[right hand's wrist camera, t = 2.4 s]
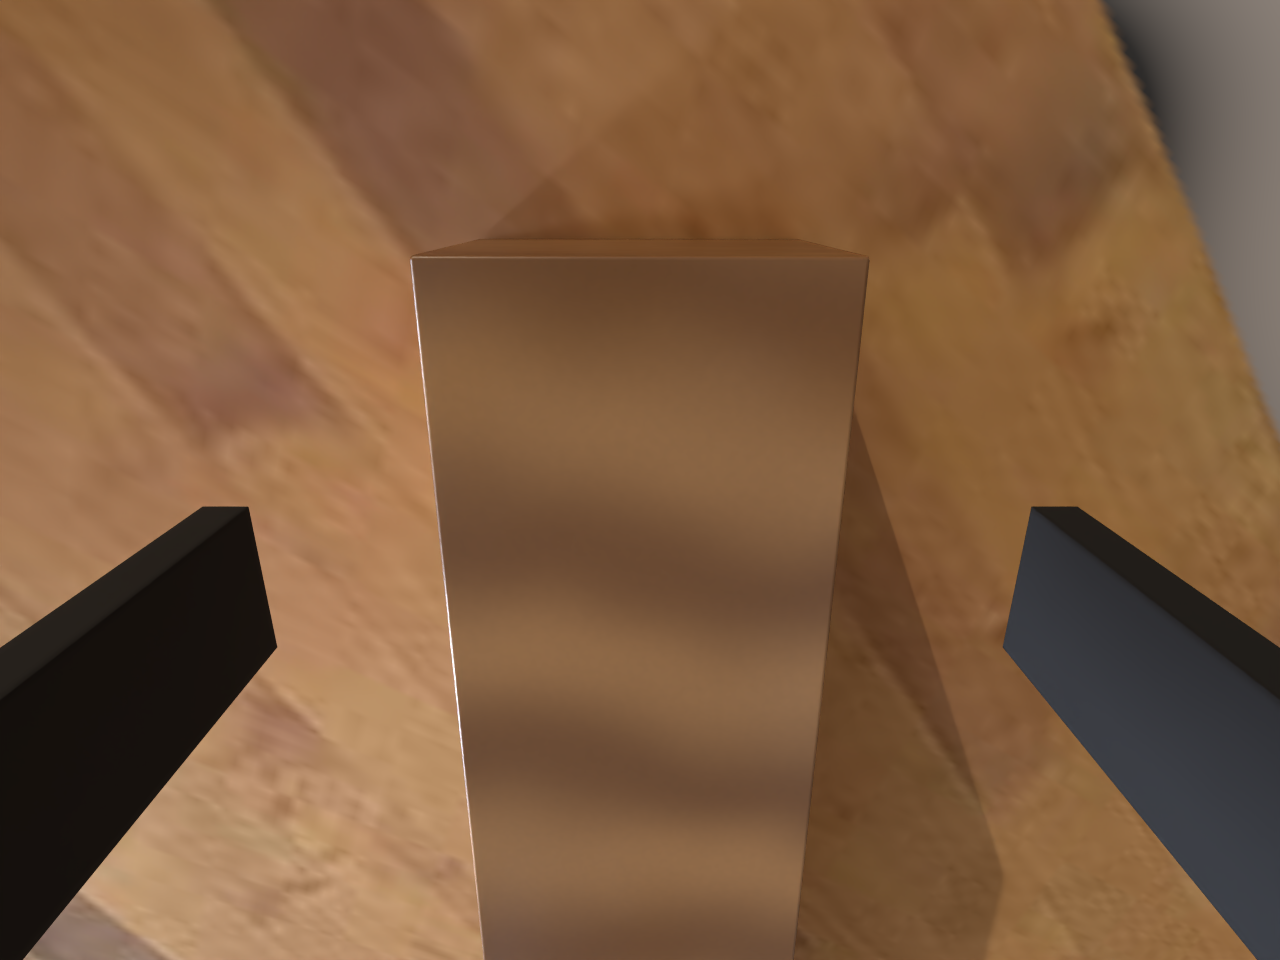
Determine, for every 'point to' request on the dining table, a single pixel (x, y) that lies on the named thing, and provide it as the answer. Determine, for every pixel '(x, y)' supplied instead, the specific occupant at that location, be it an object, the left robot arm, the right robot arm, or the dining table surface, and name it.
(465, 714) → the wide beam
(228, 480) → the dining table surface
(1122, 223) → the dining table surface
